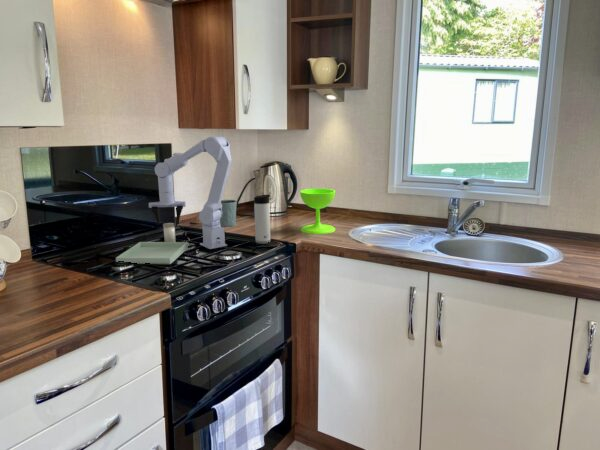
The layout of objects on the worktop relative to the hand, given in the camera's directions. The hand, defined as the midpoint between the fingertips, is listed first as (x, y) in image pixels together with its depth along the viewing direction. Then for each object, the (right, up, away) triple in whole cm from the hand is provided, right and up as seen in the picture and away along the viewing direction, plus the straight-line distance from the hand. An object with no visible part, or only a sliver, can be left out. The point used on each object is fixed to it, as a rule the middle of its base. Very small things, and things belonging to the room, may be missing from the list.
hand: (168, 224), depth 199 cm
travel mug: (+39, -8, +1) cm, 40 cm away
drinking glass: (+19, -1, +32) cm, 37 cm away
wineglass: (+63, -3, +21) cm, 66 cm away
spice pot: (0, -8, +2) cm, 8 cm away
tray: (-1, -12, -16) cm, 20 cm away
